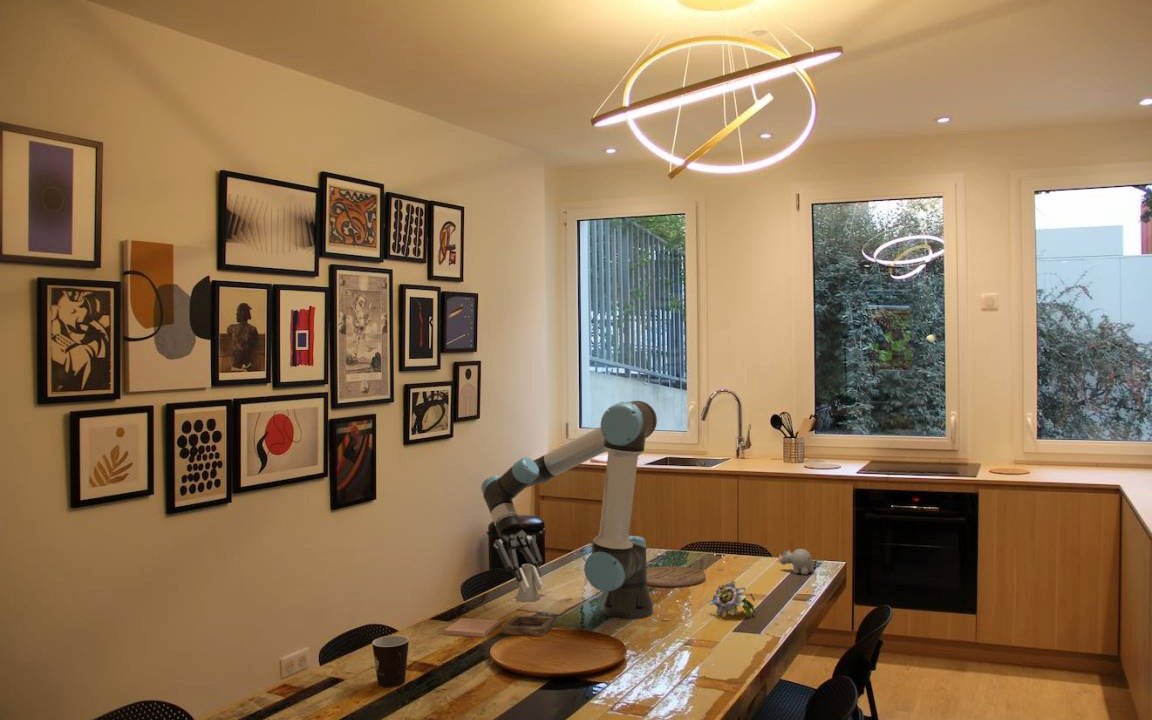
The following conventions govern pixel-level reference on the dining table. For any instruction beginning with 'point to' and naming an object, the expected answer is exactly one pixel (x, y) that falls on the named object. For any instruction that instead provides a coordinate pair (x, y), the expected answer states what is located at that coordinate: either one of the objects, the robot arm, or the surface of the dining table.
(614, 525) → the robot arm
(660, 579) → the trivet
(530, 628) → the walnut holder
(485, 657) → the dining table surface
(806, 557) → the chubby cartoon animal
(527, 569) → the flask
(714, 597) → the passion flower
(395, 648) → the coffee mug
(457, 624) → the terracotta coaster
